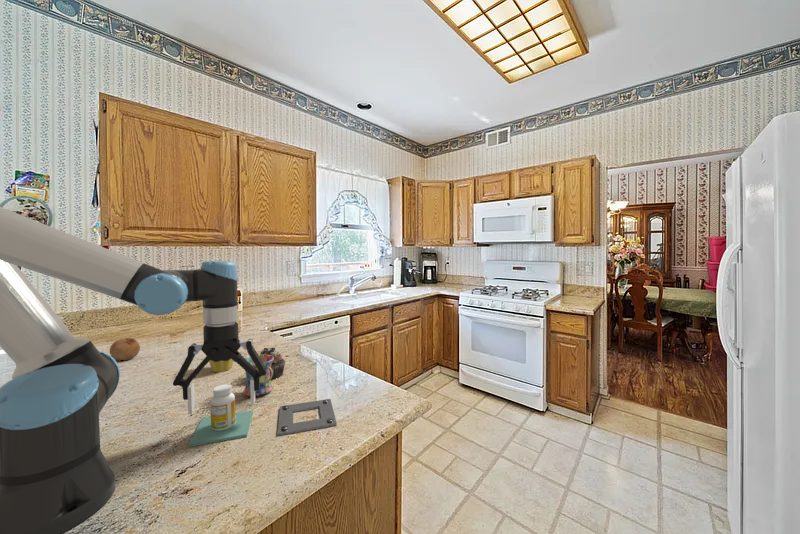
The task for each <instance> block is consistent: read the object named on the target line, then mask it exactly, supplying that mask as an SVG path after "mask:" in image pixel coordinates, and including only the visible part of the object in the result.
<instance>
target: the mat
mask: <svg viewBox="0 0 800 534" xmlns="http://www.w3.org/2000/svg"><path fill="white" fill-rule="evenodd" d="M253 413H254V410H252V409H251V410H246V411H239V412H238V411H237V412H235V416H236V422H235V424H234V425H233V426H232V427H230V428H228V429H226V430H222V431H215V430H212V428H211V416H205V417H202V419H201V420H200V422H199V424H198V426H197V427H196V429H195V431H194V433H193V435H192V437H191V439H190V440H189V442H188V447H194V446H199V445H200V446H202V445H206V444H213V443H217V442H223V441H224V442H225V441H229V440H235V439H240V438H246V437H247V436H248V433H249V429H250V426H251V423H252V422H251V421H252V418H253Z"/></svg>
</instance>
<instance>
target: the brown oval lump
mask: <svg viewBox="0 0 800 534" xmlns="http://www.w3.org/2000/svg"><path fill="white" fill-rule="evenodd" d="M140 350H141V345H140V343H139V342H138V340H136V339H135V338H133V337H126V338H120V339H117V340H115V341H114V342H113V343H112V344H111V345H110V347H109V355H110V356H111V357H113V358H114V359H115V360H116V361H119V360H125V361H129V360H131V359H133V358H135V357H136V356H137V355H138V354H139V353H140ZM119 362H120V361H119Z"/></svg>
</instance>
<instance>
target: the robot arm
mask: <svg viewBox="0 0 800 534" xmlns="http://www.w3.org/2000/svg"><path fill="white" fill-rule="evenodd" d="M21 268H23V269H26V270H29V271H33V272H36V273H39V274H42V275H46V276H48V277H51V278H54V279H57V280H60V281H64V282H66V283H69V284H72V285H76V286H79V287H82V288H85V289H87V290H90V291H94V292H97V293H99V294H103V295H105V296H106V295H107V296H109V297H111V298H115V299H118V300H120V301H123V302H126V303H129V304H132V305H135V306H138V307H139V308H140V309H141V310H142V311H143V312H144V313H147V314H149V315H155V316H163V315H169V314H171V313H173V312H175V311H177V310H178V309H180V308H181V307H182V306H183V305H185V303H189V302H200V301H202V324H204V326H203V327H202V329H203V330H202V331H203V333H202V334H203V335H202V336H203V343H202V344H198V343H195V342H194V343H191V345H190V346H188V348H187V356H186V358H185V359H184V361H183V363H182V365H181V367H180V369H179V371H178V372H177V374H176V377H175V378H174V380H173V382H172V386H175V387H177V386H178V387H181V388H182V399H183V400H184V401H187V412H188V413H187V414H188V415H192V414H193V413H194V412H195V410H196V397H195V396H196V391H195V382H192V381H193V380H194V379H195V378H196V377H197V376H198V375H199V373H200V372H201V371H202V370H203V369H204V368H205V367H206V365H207V364H208V363H210V362H209V361H210V360H211V361H214V362H218V361H228V360H230V359H232V360H233V363H234V362H235V363H236V364H238V366H240V367H241V368H242V369H243V370H244V371H246V372H247V373H249V374H250V375H251V376H252V377H251V380H250V390H251V396H250V406H254V405H255V403H256V396H255V391H257V390H259V386H260V383H259V378H260V377H261V376H264V375H266V372H267V369H266V367H265V365H264V364H263V362H262V360H261V359H260V357H259V355H260V354H259V353H258V352H257V351H256V348H255V347H254V341H253V338H248V339H247V340H244V341H240V339H239V323H238V322H237V321H238V320H239V310H238V309H239V308H238V306H239V305H238V301H239V299H238V273H237V265H236V263H235V262H234V261H231V260H205V261H202V262H201V266H200V268H199V269H184V270H183V269H169V270H168V269H167V270H165V269H161V268H157V267H155V266H152V265H149V264H146V263H144V262H141V261H139V260H137V259H134V258H131V257H129V256H127V255H124V254H121V253H118V252H116V251H113V250H111V249H108V248H105V247H104V246H101V245H98V244H96V243H94V242H91V241H88V240H86V239H83V238H81V237H79V236H78V237H77V236H75V235H72V234H70V233H67V232H65V231H62V230H60V229H57V228H55V227H52V226H50V225H47V224H44V223H42V222H39V221H38V220H34V219H32V218H29V217H27V216H25V215H21V214H19V213H17V212H15V211H11V210H9V209H6V208H4V207H1V206H0V349H2V350H3V351H4V352H5V354H6V355H8V357H9V358H10V359H11V360H12V361H13V362H14V363H15V369H14V371H13V374H12V376H11V380H9V381H7V382H6V383H5V384H3V385H1V386H0V534H62V533H65V532H66V531H68V530H70V529H72V528H74V527H75V526H77V525H79V524H80V523H82V522H84V521H85V520H87V519H88V518H89V517H91V516H93V515H94V514H95V513H97V512H98V511H99V510H100V509H102V508H103V506H105V505H106V504H107V502H108V501H109V500H110V499H111V498H112V496H113V494H114V493H115V490H116V477H115V475H116V474H115V473H114V471H113V469H112V467H111V466H110V463H109V461H108V460H107V458H106V457H105V455H104V453H103V452H102V449H101V433H100V432H101V431H100V413H101V411H102V410H103V409H104V407H105V405H106V404H107V402H108V401H109V399H110V398H111V397H112V396H113V394H114V393H115V391H116V390H117V388H118V386H119V382H120V377H121V375H120V374H121V370H120V365H119V363H118V362H117V360H116V359H115V358H113V357H111V354H108V353H106V352H104V351H99V349H98V348H97V347H96V346H95V345H94V343H93V342H92V341H91V340H90V339H89V338H84V337H78V336H74V334H73V333H72V332H71V330H70V329H69V328H68V327H67V325H66V324H65V323H64V321H62V320H61V318H60V317H59V315H57V313H56V312H55V310H54V309H53V308H52V307H51V306H50V304H49V303H48V302H47V301H46V299H45V298H44V297H43V296H42V295H41V293H40V292H39V291H38V290H37V289H36V287H35V286H34V285H33V284H32V282H31V281H30V280H29V278H27V276H26V275H25V274H24V272H23V271H22V270H21ZM240 348H243V350H245V351H247V354H248V356H249V357H251V359H252V360H253V362H254V364H255V365H256V367H257V368H258V370H259V371H258V370H257V369H255V368H254V367H253V366H252V365H251V364H250V363H249V362H248V361H247V360H246V359H245V358H246V357H244V356H243V355H242V353H241V352H239V351H238V350H240ZM200 351H201V352H203V354H204V355H205V357H204V359H202V361H201V362H200V363H199V364H198V365H197V366H196V368H195V369H194V370H193V371H192V372H191V373H190V374H189V375H188V377H187V378H184V377H185V376H186V373H187V371H188V370H189V368H190V366H191V364H192V363H193V360H194V359H195V357H196V355H197V354H199V352H200ZM246 372H245V373H246Z"/></svg>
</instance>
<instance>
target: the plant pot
mask: <svg viewBox="0 0 800 534" xmlns="http://www.w3.org/2000/svg"><path fill="white" fill-rule="evenodd" d="M208 363H209V365H210V368H211V371H212V372H214V373H222V372H223V373H224V372H226V371H230V370H231V369H233V364H234V361H233V360H232V359H230V360H228V361H218V362H214V361H211V360H210V361H209V362H208Z"/></svg>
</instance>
